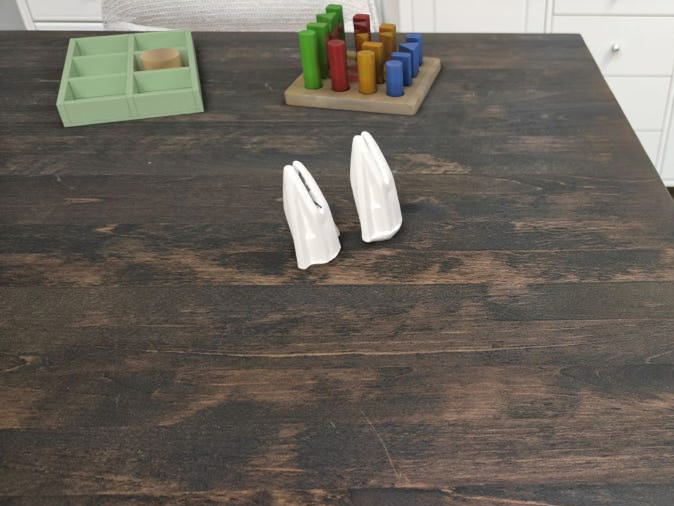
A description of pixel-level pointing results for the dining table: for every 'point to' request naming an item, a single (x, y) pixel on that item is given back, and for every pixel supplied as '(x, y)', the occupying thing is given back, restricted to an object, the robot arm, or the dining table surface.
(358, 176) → the shaker set
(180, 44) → the grid
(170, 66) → the token
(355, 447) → the dining table surface
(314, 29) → the peg board
